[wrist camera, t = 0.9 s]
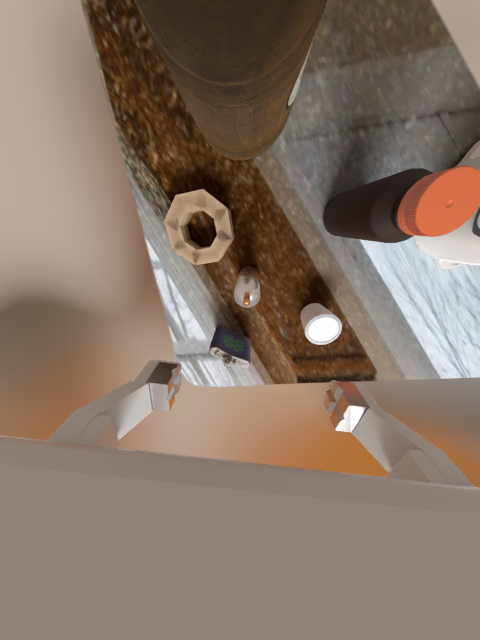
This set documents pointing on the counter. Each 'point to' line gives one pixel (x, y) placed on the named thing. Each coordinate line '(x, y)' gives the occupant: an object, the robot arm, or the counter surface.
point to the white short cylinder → (320, 324)
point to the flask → (231, 347)
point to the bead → (179, 231)
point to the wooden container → (235, 64)
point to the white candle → (247, 287)
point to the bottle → (406, 205)
